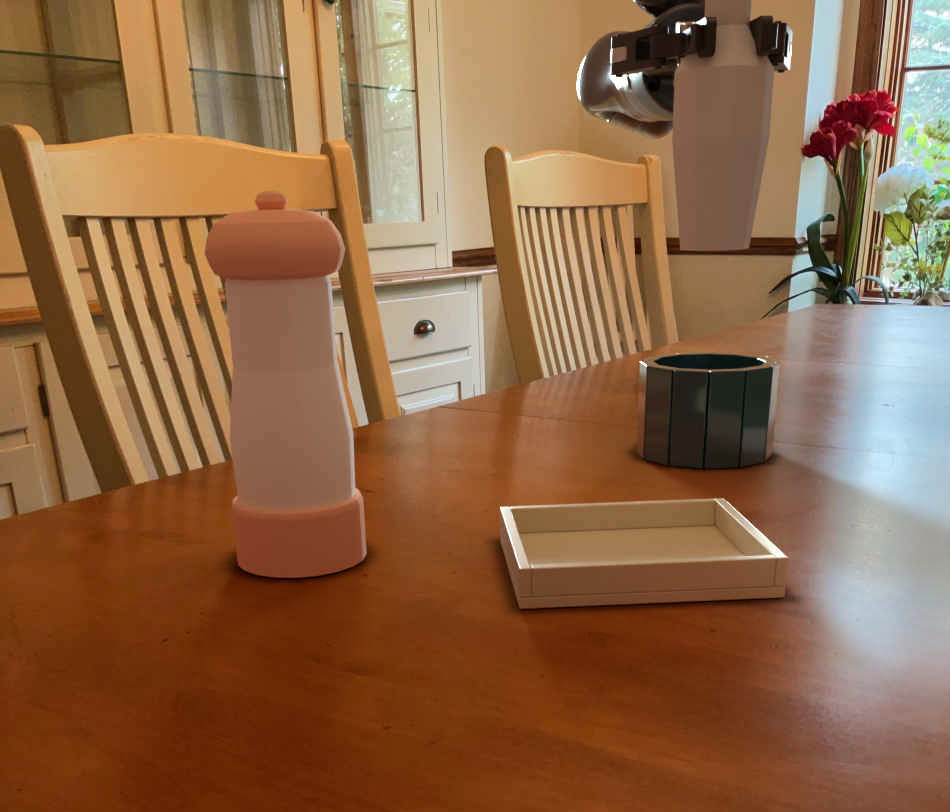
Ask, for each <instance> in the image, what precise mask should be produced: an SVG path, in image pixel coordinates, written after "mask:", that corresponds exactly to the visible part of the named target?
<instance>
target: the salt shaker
mask: <svg viewBox="0 0 950 812" xmlns="http://www.w3.org/2000/svg"><path fill="white" fill-rule="evenodd" d="M254 204H255V206H256V208H257V209H253V210H244V211H235V212H231V213H229V214H226V215H225V216H224V217H221V219H218V220H217V221H215V222H213V224H212V226H211V229H210V231H209V233H208V235H207V237H206V241H205V248H204V256H205V258H206V261H207V264H208V265H209V268H210V269H211V270H212V272H213V274H214V275H215V276H217V277H221V278H223V279H225V282H224V290H225V291H224V292H225V300H226V308H227V309H226V311H227V321H228V331H229V340H230V350H231V361H232V373H231V374H232V375H231V377H232V379H231V398H230V399H231V400H230V419H229V420H230V421H229V422H230V423H229V444H230V451H231V459H232V466H233V473H234V479H235V487H236V494H237V495H236V496H235V497H233V498H232V501H231V503H230V504H231V515H232V523H233V533H234V540H235V549H236V551H235V552H236V559H237V566H238V567H239V568H241V569H242V570H243V571H244V572H246V573H250V574H252V575H256V576H261V577H268V578H277V579H280V578H281V579H282V578H283V579H284V578H285V579H287V578H288V579H298V578H309V577H319V576H324V575H329V574H334V573H338V572H341V571H344V570H347V569H350V568H353V567H355V566H357V565H358V564H360V563H361V562H363V561H364V559H365V558H366V556H367V551H368V550H367V539H366V538H367V537H366V536H367V535H366V521H365V520H366V519H365V506H364V497H363V495H362V493H361V491H360V490H359V489H358V488H357V487H356V472H355V471H356V470H355V469H356V467H355V445H354V444H355V443H354V442H355V441H354V430H353V425H352V421H351V417H350V411H349V407H348V402H347V399H346V394H345V388H344V385H343V380H342V376H341V370H340V365H339V363H338V349H337V348H338V347H337V337H336V325H335V324H336V322H335V313H334V299H333V298H334V297H333V286H332V285H333V284H332V280H331V278H330V275H332V274H334V273H336V272H338V271H340V269H341V267H342V264H343V261H344V257H345V253H346V246H345V244H344V240H343V237H342V234H341V232H340V231H339V230H338V228H337V226H336V225H335V223H333V221H332V220H331V219H329V218H327V217H325V216H323V215H321V214H319V213H317V212H315V211H313V210H305V209H291V208H287V205H288V199H287V197H286V195H285V194H284V193H282V192H280V191H278V190H267V191H264V190H263V191H261V192H259V193H258V194H256V196H255V199H254Z"/></svg>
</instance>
